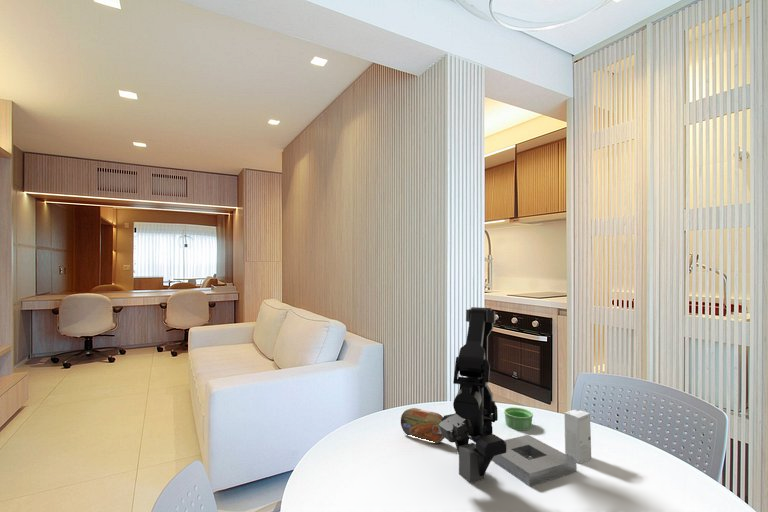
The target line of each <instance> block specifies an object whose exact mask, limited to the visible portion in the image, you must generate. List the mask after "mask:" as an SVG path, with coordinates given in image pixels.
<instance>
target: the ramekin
mask: <svg viewBox="0 0 768 512" xmlns="http://www.w3.org/2000/svg"><path fill="white" fill-rule="evenodd" d="M503 411H504V413H503V414H504V418H505V425H506V426H508V427H509V428H511V429H513V430H516V431H528V430H530V429H531V428H532V422H533V416H534V415H533V414H534V413H533V412H532V411H531V410H528V409H526V408H523V407H516V406H515V407H514V406H513V407H506V408H505V409H504V410H503Z"/></svg>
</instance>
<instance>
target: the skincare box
mask: <svg viewBox="0 0 768 512" xmlns="http://www.w3.org/2000/svg"><path fill="white" fill-rule="evenodd" d="M591 436H592V434H591V413H590V412H587V411H584V410H579V409H577V408H576V409H572V410H568V411H566V412H564V454H566V455H568V456H570V457H572V458H573V459H575V460H576V464H581V463H585V462H587V461H589V460H591V459H592V437H591Z"/></svg>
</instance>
